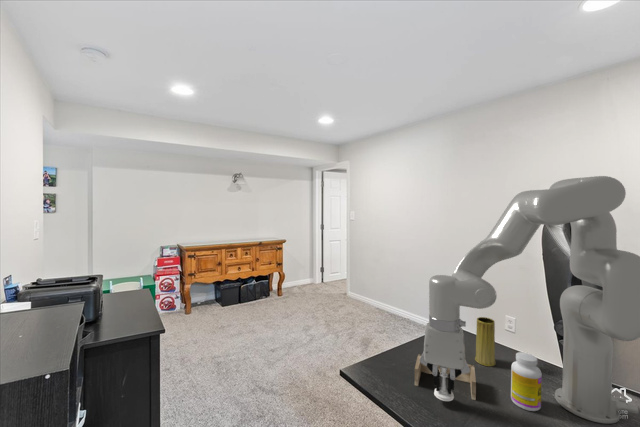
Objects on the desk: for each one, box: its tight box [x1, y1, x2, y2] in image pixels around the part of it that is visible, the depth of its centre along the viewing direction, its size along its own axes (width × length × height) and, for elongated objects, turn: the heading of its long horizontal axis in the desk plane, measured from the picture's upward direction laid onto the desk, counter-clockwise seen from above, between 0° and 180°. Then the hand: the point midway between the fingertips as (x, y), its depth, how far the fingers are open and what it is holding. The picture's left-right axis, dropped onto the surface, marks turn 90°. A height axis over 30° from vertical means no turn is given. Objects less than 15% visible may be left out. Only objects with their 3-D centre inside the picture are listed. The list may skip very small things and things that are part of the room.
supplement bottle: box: [510, 351, 543, 412], centre depth 78 cm, size 7×7×13 cm
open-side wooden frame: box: [414, 353, 477, 401], centre depth 87 cm, size 16×9×5 cm, turn 65°
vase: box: [474, 316, 497, 367], centre depth 99 cm, size 6×6×14 cm
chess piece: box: [433, 366, 455, 402], centre depth 79 cm, size 5×5×10 cm
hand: (443, 389), depth 79 cm, fingers closed on chess piece
